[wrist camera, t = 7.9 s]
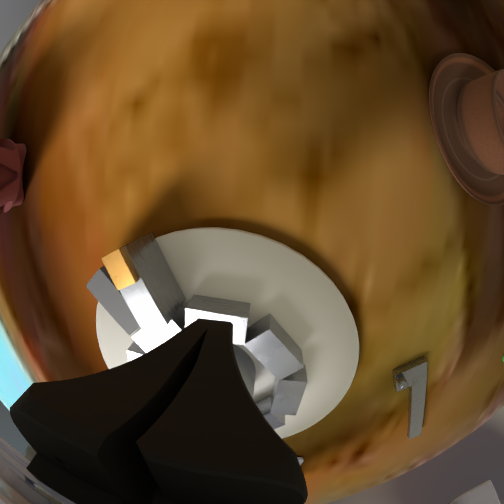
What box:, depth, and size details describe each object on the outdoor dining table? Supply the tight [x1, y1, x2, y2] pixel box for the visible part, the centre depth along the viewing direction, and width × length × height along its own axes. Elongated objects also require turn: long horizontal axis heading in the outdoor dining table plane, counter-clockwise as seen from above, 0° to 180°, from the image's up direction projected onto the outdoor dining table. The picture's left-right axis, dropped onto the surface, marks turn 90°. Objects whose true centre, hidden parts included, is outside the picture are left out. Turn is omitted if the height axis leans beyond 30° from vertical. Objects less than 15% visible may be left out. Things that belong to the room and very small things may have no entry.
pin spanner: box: [393, 356, 427, 439], centre depth 20 cm, size 13×3×2 cm, turn 21°
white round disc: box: [86, 227, 359, 438], centre depth 19 cm, size 22×22×4 cm
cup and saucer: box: [429, 53, 504, 206], centre depth 11 cm, size 12×12×6 cm
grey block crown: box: [101, 232, 307, 429], centre depth 17 cm, size 13×17×4 cm
